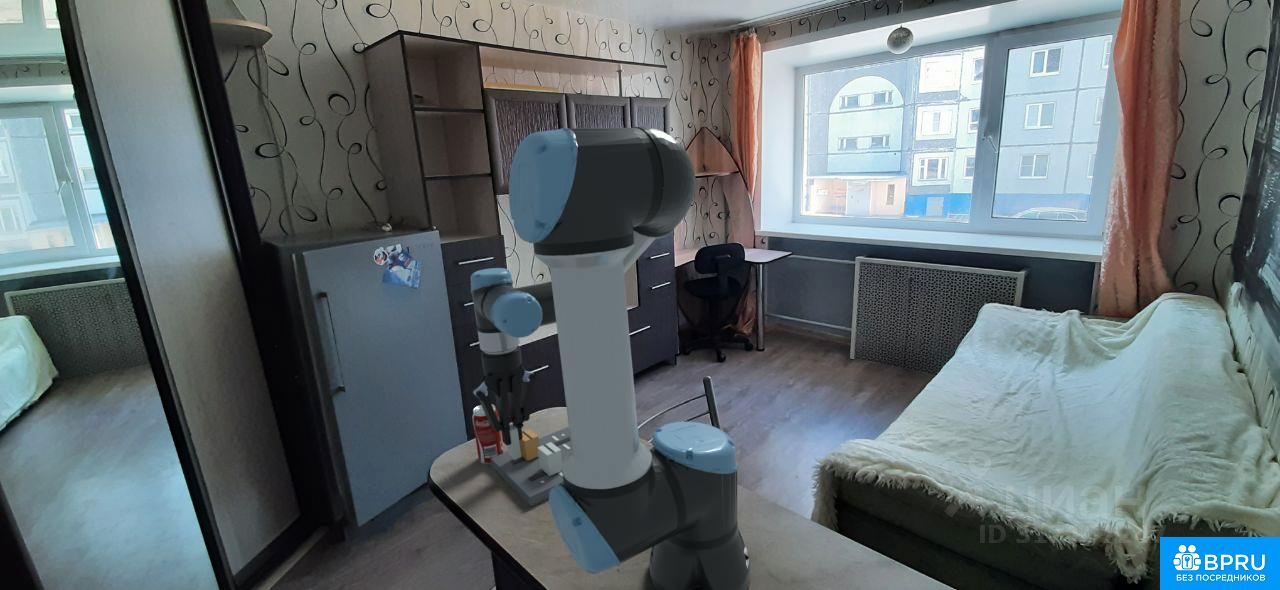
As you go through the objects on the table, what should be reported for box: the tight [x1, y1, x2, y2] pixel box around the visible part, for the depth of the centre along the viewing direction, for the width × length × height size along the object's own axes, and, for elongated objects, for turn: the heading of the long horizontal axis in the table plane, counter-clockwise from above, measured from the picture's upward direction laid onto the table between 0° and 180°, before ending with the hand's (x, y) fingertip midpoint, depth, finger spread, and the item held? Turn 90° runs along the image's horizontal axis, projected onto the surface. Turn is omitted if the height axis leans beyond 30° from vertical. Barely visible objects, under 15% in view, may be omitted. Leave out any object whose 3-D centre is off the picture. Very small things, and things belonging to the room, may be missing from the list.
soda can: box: [471, 403, 504, 466], centre depth 114 cm, size 5×5×12 cm
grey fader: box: [538, 442, 562, 476], centre depth 106 cm, size 4×3×5 cm
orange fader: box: [519, 429, 539, 461], centre depth 111 cm, size 4×3×5 cm
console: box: [491, 426, 572, 507], centre depth 111 cm, size 18×19×2 cm
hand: (514, 455), depth 110 cm, fingers closed
